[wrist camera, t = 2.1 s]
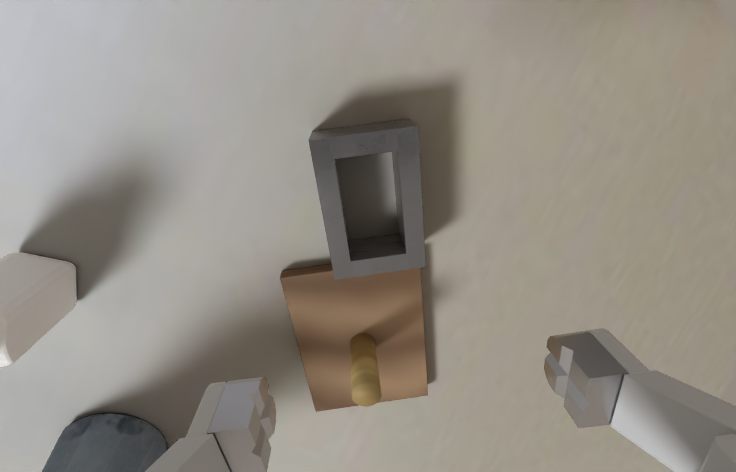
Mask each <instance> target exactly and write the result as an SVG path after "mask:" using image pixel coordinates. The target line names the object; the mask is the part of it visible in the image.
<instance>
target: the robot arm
mask: <svg viewBox="0 0 736 472" xmlns="http://www.w3.org/2000/svg"><path fill="white" fill-rule="evenodd" d="M547 348H548V350H549V351H550V352H551V353H550V354H549V355H548V356H547V357H546V358H545V364H544V369H545V374H546V378H547V380H548V382H549V385H550V386H551V388H552V389H553V391H554V392H555V393H556V394H558V395H559V396H561V397H563V398H564V399H565V400H564V407H565V409H566V410H567V412H568V413H569V415H570V416H571V418H572V419H573V421H574V422H575V424H576V425H577V427H578V428H585V427H593V426H602V425H611V427H612V428H614V429H615V430H616V431H618V432H619V433H621V434H622V435H624V436H625V437H626V438H628V439H629V440H631V441H632V442H633V443H635V444H636V445H638V446H639V447H640V448H642V449H643V450H645V451H646V452H647V453H649V454H650V455H652V456H653V457H654V458H656V459H657V460H659V461H660V462H661V463H663V464H664V465H666V466H667V467H669V468H670V469H671V470H673V471H674V472H736V406H734V405H732V404H730V403H728V402H725V401H723V400H721V399H719V398H717V397H714V396H712V395H710V394H708V393H705V392H703V391H701V390H699V389H696V388H694V387H692V386H690V385H688V384H685V383H683V382H681V381H679V380H676V379H674V378H672V377H670V376H667V375H665V374H663V373H661V372H658V371H656V370H654V371H650V370H649V369H648V368H647V367H646V366H644V365H643V364H642V363H641V362H640V361H639V360H638V359H637V358H636V357H635V356H634V355H633V354H632V353H631V352H630V351H629V350H628V349H627V348H626V347H625V346H624V345H623V344H622V343H621V342H619V341H618V340H617V339H616V338H615V337H614V336H613V335H612V334H611V333H610V332H609V331H608V330H606V329H604V328H601V329H595V330H588V331H581V332H575V333H568V334H562V335H555V336H550V337H549V339H548V341H547ZM268 388H269V385H268V382H267V379H266V378H265V377H258V378H249V379H240V380H232V381H226V382H218V383H211V384H210V385H209V386H208V387H207V388H206V390H205V393H204V395H203V397H202V400H201V402H200V405H199V407H198V409H197V412H196V414H195V416H194V419H193V421H192V423H191V426H190V428H189V430H188V433H187V435H186V437H184V438H180V439H179V440H178V441H177V442H175V443H174V444H173V445H172V446H171V447H170V448H169V449H168V450H167V451H166V452H165V453H164V454H163V455H162V456H161V457H160V458H159V459H158V460H156V461H155V462H154V463H153V464H152V465H151V466H150V467H149V468H148V469H147V470H146V471H145V472H267V468H268V463H269V457H270V452H271V447H270V444H269V441H268V439H269V438H270V437H271V436H272V435H273V433H274V430H275V424H276V409H275V403H274V400H273V397H272V396H270V395H269V394H267V393H268Z"/></svg>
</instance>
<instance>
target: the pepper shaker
mask: <svg viewBox="0 0 736 472" xmlns="http://www.w3.org/2000/svg"><path fill="white" fill-rule="evenodd" d="M76 302H77V289H76V268H75V266H74V264H72V263H70V262H67V261H62V260H57V259H52V258H48V257H43V256H38V255H33V254H28V253H23V252H19V253H12V254H9V255H7V256H5V257H3V258H2V259H0V367H3V366H7V365H10V364H13V363H14V362H15V361H16V360H17V359H19V358H20V357H21V356H22V355H23V354H24V353H25V352H26V351H27V350H28V349H30V348H31V347H32V346H33V345H34V344H35V343H36V342H37V341H38V340H39V339H40V338H42V337H43V336H44V335H45V334H46V333H47V332H48V331H49V330H50V329H51V328H53V327H54V326H55V325H56V324H57V323H58V322H59V321H60V320H61V319H62V318H64V317H65V316H66V315H67V314H68V313H69V312H70V311H71V310H72V309H73V308H74V307H75V305H76Z"/></svg>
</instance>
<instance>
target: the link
mask: <svg viewBox="0 0 736 472" xmlns="http://www.w3.org/2000/svg"><path fill="white" fill-rule="evenodd" d="M309 145H310V150H311V155H312V161H313V166H314V171H315V177H316V182H317V187H318V193H319V198H320V203H321V209H322V214H323V219H324V225H325V230H326V235H327V241H328V246H329V251H330V257H331V262H332V268H333V273H334V278H335V280H336V279H343V278H351V277H358V276H365V275H372V274H379V273H386V272H394V271H401V270H408V269H415V268H422V267H426V264H425V245H424V226H423V207H422V188H421V168H420V149H419V130H418V125H417V124H415V123H414V122H413V121H411V120H410V119H409V118H408V119H401V120H393V121H386V122H378V123H371V124H363V125H356V126H348V127H340V128H333V129H325V130H318V131H312V133H311V136H310V138H309ZM385 152H392V157H393V169H394V180H395V192H396V204H397V215H398V227H399V234H393V235H386V236H379V237H371V238H364V239H357V240H350V241H349V236H348V229H347V223H346V217H345V210H344V204H343V197H342V191H341V185H340V178H339V172H338V166H337V159H340V158H347V157H355V156H362V155H370V154H377V153H385Z"/></svg>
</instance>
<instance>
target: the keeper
mask: <svg viewBox="0 0 736 472" xmlns="http://www.w3.org/2000/svg"><path fill="white" fill-rule="evenodd" d="M280 280H281V283H282V287H283V291H284V295H285V298H286V302H287V306H288V309H289V313H290V317H291V321H292V324H293V328H294V332H295V336H296V339H297V343H298V347H299V351H300V354H301V358H302V362H303V366H304V369H305V373H306V377H307V380H308V384H309V388H310V392H311V395H312V399H313V403H314V407H315V410H316V411H323V410H330V409H337V408H344V407H351V406H358V405H360V406H371V405H374V404H376V403H378V402H385V401H392V400H399V399H406V398H413V397H420V396H426V395H428V388H427V371H426V354H425V338H424V321H423V304H422V288H421V271H420V268H415V269H408V270H401V271H394V272H386V273H379V274H372V275H365V276H358V277H351V278H343V279H336V280H335V278H334V273H333V268H332V264H328V265H321V266H313V267H306V268H299V269H292V270H284V271H282V273H281V277H280Z"/></svg>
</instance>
